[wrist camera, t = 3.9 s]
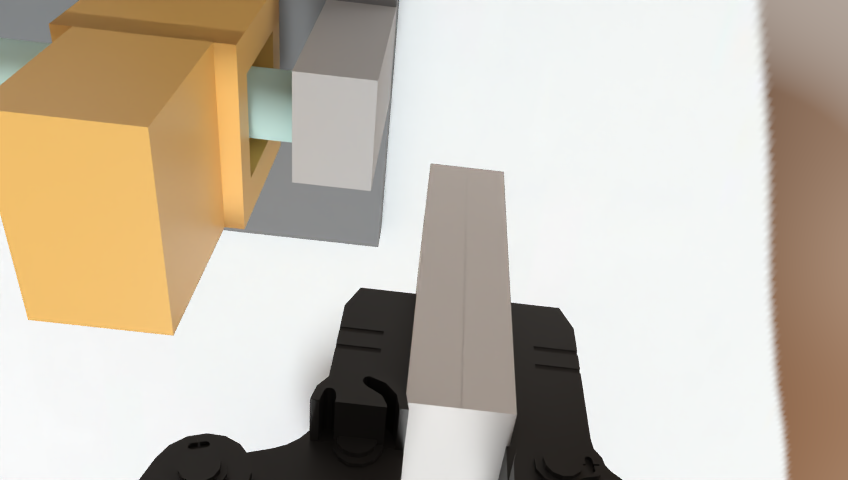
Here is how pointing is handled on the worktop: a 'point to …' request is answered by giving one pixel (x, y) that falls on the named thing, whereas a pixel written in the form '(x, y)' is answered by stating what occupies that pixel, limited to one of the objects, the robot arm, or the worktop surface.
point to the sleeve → (132, 156)
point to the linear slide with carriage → (294, 111)
